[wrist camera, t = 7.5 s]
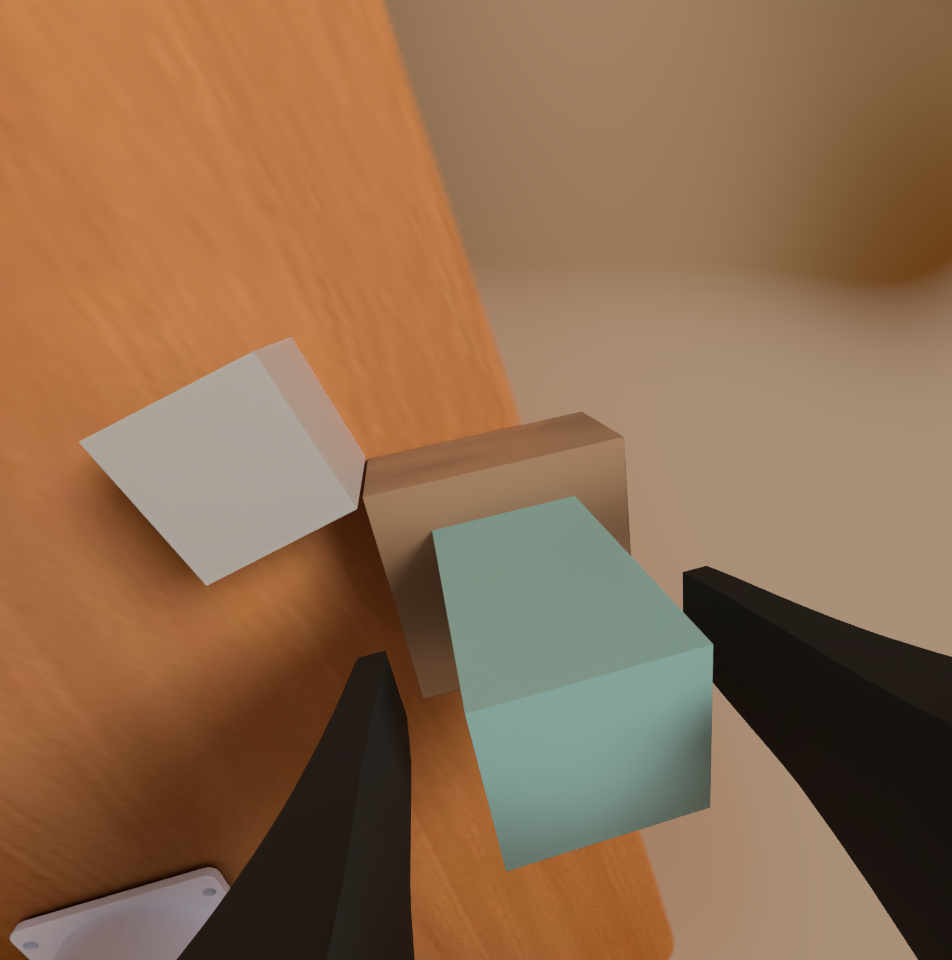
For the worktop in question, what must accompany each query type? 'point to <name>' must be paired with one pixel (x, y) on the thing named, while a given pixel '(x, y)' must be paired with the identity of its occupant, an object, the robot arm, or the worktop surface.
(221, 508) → the grey block
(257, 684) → the worktop surface
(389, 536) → the brown wooden square block
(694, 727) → the teal block
